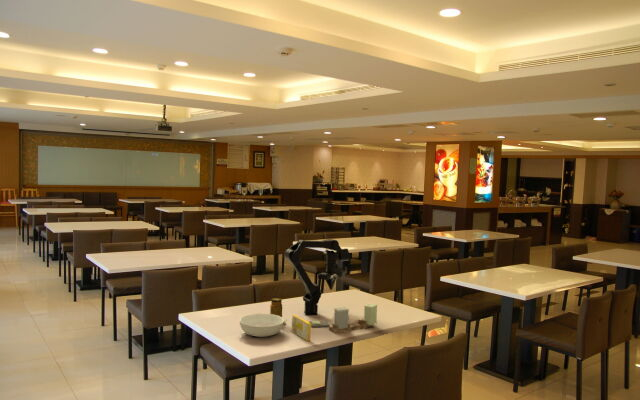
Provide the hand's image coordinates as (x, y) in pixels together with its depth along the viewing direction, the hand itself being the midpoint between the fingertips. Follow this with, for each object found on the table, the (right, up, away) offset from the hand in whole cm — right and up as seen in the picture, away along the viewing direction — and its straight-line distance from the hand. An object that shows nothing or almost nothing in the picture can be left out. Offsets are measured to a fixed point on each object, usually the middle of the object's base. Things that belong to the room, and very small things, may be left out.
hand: (331, 289), depth 270 cm
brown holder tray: (+10, -14, -29) cm, 33 cm away
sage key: (+19, -12, -27) cm, 35 cm away
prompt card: (-7, -13, -26) cm, 30 cm away
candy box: (-15, -14, -42) cm, 47 cm away
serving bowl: (-34, -14, -41) cm, 55 cm away
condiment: (-28, -13, -22) cm, 38 cm away
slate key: (+4, -12, -35) cm, 37 cm away
